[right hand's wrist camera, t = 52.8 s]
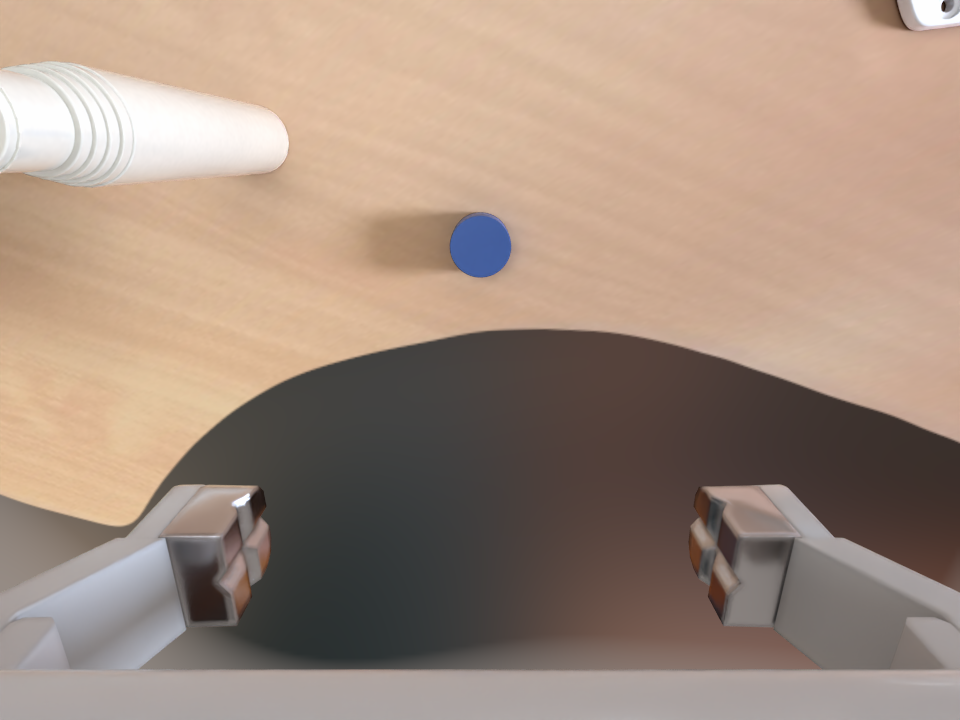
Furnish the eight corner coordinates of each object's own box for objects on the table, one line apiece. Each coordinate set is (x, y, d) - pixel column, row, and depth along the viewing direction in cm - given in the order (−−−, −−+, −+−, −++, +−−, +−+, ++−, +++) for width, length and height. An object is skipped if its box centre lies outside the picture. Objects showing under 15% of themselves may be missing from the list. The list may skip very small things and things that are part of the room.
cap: (449, 268, 44) (448, 274, 42) (453, 210, 43) (451, 213, 40) (506, 272, 44) (507, 279, 42) (512, 214, 43) (514, 218, 40)
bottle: (215, 110, 40) (-160, 45, 17) (279, 99, 40) (-10, 18, 16) (235, 178, 42) (-82, 207, 18) (296, 168, 42) (55, 184, 18)
